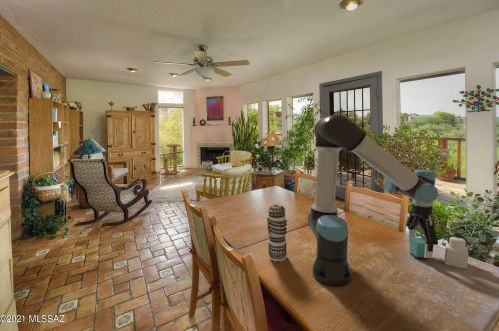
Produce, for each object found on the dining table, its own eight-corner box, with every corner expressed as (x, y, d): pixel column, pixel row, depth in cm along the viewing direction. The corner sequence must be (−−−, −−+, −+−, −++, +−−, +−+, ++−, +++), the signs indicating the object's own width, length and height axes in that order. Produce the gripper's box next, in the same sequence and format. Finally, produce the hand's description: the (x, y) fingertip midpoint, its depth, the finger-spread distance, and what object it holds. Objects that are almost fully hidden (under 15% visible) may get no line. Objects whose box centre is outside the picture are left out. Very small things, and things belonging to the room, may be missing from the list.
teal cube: (416, 257, 108) (417, 243, 107) (409, 250, 114) (410, 237, 113) (429, 257, 107) (430, 243, 106) (422, 251, 113) (423, 237, 112)
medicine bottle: (444, 257, 109) (447, 232, 108) (466, 262, 105) (468, 236, 103) (444, 264, 104) (446, 238, 102) (466, 270, 99) (469, 242, 98)
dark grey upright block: (415, 259, 109) (416, 244, 108) (409, 253, 113) (410, 239, 112) (427, 259, 108) (429, 244, 107) (421, 253, 113) (422, 239, 112)
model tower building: (263, 257, 114) (262, 206, 111) (275, 250, 121) (274, 201, 118) (279, 264, 108) (278, 210, 105) (291, 256, 115) (290, 205, 111)
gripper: (451, 214, 94) (446, 265, 98) (415, 196, 119) (413, 237, 122) (430, 214, 95) (426, 264, 98) (399, 196, 120) (397, 237, 123)
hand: (419, 249), depth 110 cm, fingers open, 13 cm apart
